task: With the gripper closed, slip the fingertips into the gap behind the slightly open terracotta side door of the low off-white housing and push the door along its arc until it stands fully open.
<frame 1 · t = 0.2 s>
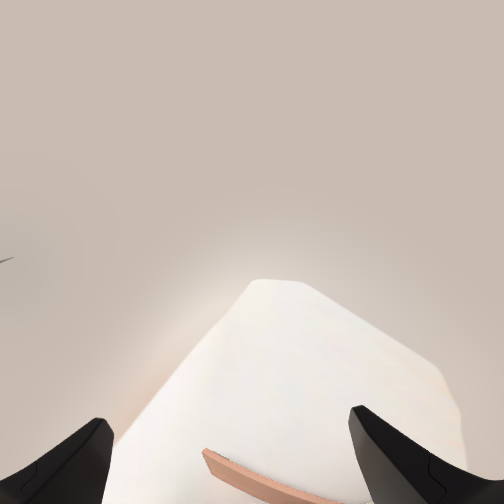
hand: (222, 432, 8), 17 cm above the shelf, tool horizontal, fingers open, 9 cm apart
side door: (269, 490, 15), point 3 cm above the shelf, hinge at 35.0°, touching housing
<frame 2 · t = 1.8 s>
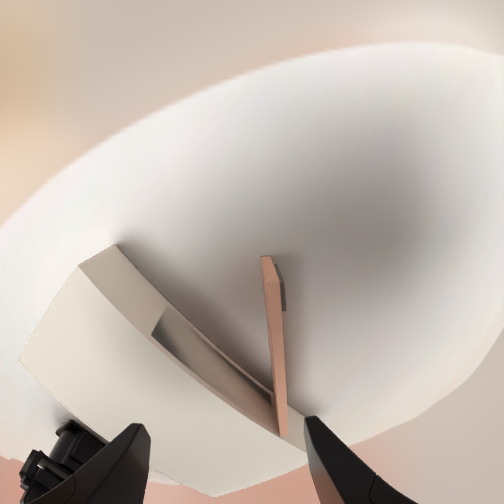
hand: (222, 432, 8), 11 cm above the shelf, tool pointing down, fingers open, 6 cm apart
side door: (278, 355, 17), point 3 cm above the shelf, hinge at 35.0°, touching housing
housing: (172, 387, 20), on the shelf
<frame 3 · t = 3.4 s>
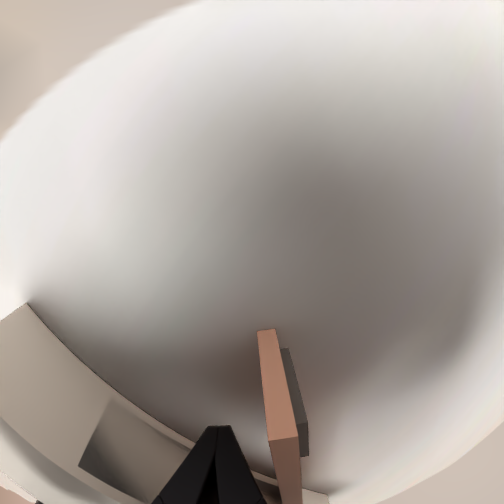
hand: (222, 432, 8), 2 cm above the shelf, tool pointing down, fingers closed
side door: (292, 473, 8), point 3 cm above the shelf, hinge at 35.0°, touching gripper, housing
housing: (147, 474, 12), on the shelf
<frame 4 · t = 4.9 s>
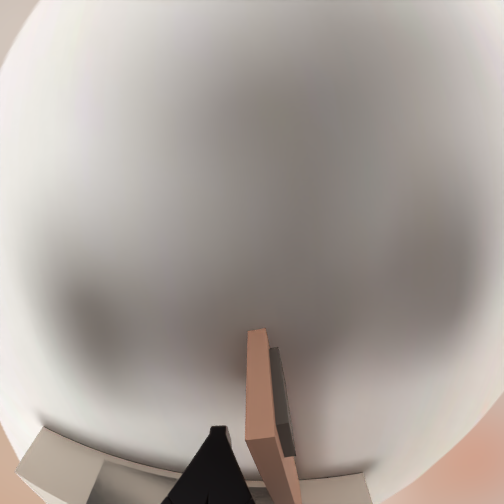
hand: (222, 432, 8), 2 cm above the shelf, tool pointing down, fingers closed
side door: (289, 472, 8), point 3 cm above the shelf, hinge at 72.8°, touching gripper, housing
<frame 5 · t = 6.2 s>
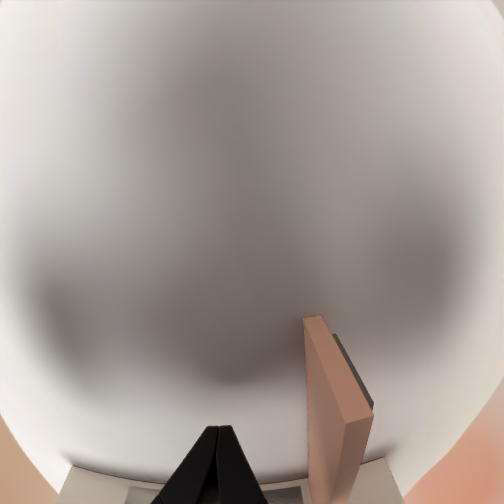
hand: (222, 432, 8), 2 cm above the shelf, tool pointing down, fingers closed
side door: (328, 465, 8), point 3 cm above the shelf, hinge at 90.2°, touching housing
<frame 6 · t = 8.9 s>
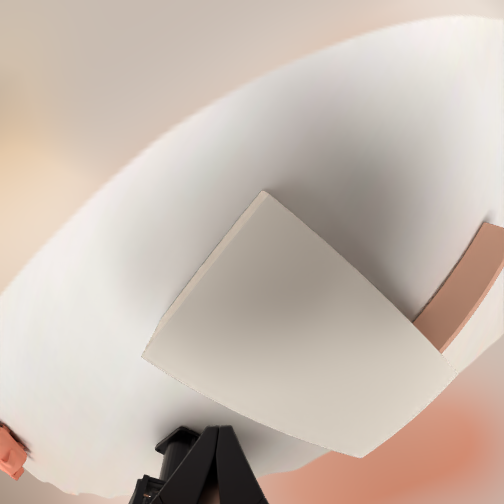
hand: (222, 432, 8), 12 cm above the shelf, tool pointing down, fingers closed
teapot: (8, 432, 26), on the shelf
side door: (469, 283, 17), point 3 cm above the shelf, hinge at 90.2°, touching housing
housing: (320, 342, 21), on the shelf
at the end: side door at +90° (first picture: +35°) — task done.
